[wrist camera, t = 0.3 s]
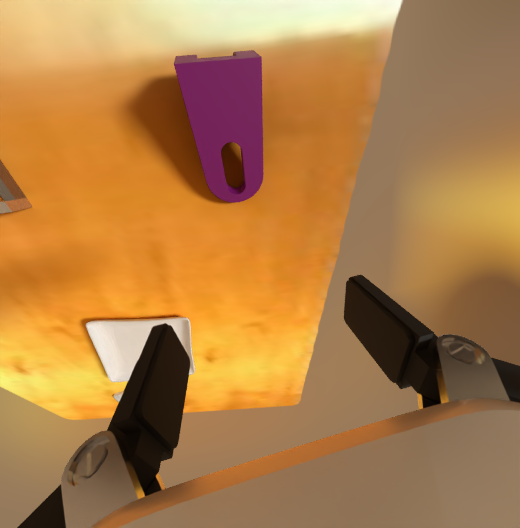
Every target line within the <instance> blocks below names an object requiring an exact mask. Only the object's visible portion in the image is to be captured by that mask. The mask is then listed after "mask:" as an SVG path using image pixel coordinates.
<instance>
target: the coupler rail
mask: <svg viewBox="0 0 520 528" xmlns="http://www.w3.org/2000/svg"><path fill="white" fill-rule="evenodd" d="M0 195H1V197H2V198H3V200H4V201H0V214H1V213H8V212H14V211H18V210H22V209H27V208H31V207H32V206H31V204H30V203H29V201H28V200H27V198H26V197H25V195H24V194H23V192H22V191H21V189H20V188H19V187H18V185H17V184H16V182H15V181H14V179H13V178H12V176H11V175H10V173H9V172H8V170H7V169H6V168H5V166H4V165H3V163H2V162H1V160H0Z"/></svg>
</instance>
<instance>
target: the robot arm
mask: <svg viewBox="0 0 520 528" xmlns="http://www.w3.org/2000/svg"><path fill="white" fill-rule="evenodd" d="M344 320H345V322H346V324H347V325H348V326H349V328H350V329H351V330H352V332H353V333H354V334H355V335H356V337H357V338H358V339H359V341H360V342H361V343H362V344H363V346H364V347H365V348H366V350H367V351H368V352H369V354H370V355H371V356H372V357H373V359H374V360H375V361H376V363H377V364H378V365H379V366H380V368H381V369H382V370H383V372H384V373H385V374H386V375H387V377H388V378H389V379H390V380H391V381H392V382H393V383H396V384H397V385H398V386H399V388H400V389H403V388H407V387H410V386H412V387H413V388H414V390H415V391H416V392H417V395H418V406H419V410H416V411H413V412H409V413H405V414H402V415H399V416H395V417H392V418H389V419H386V420H382V421H379V422H376V423H372V424H369V425H366V426H363V427H359V428H356V429H353V430H349V431H346V432H343V433H340V434H336V435H333V436H330V437H327V438H323V439H320V440H317V441H314V442H311V443H307V444H304V445H301V446H298V447H294V448H291V449H288V450H285V451H282V452H278V453H275V454H272V455H269V456H266V457H262V458H259V459H256V460H253V461H250V462H247V463H243V464H241V465H238V466H234V467H231V468H228V469H225V470H221V471H218V472H215V473H212V474H209V475H206V476H202V477H199V478H197V479H193V480H191V481H188V482H185V483H182V484H179V485H176V486H173V487H170V488H167V489H166V488H165V486H164V484H163V482H162V480H161V478H160V476H159V474H158V472H159V468H160V463H161V461H164V460H167V459H170V458H172V456H173V450H174V448H176V447H177V444H178V440H179V434H180V428H181V421H182V415H183V409H184V402H185V396H186V390H187V383H188V377H189V370H190V358H189V356H188V354H187V352H186V351H185V349H184V347H183V345H182V343H181V342H180V340H179V338H178V336H177V334H176V333H175V331H174V329H173V327H172V326H171V325H168V324H166V323H164V324H160V325H156V326H153V327H152V329H151V331H150V334H149V336H148V338H147V341H146V343H145V346H144V348H143V350H142V353H141V355H140V357H139V359H138V361H137V362H136V364H135V367H134V369H133V371H132V374H131V376H130V378H129V381H128V383H127V385H126V388H125V390H124V392H123V395H122V397H121V399H120V401H119V404H118V406H117V408H116V411H115V413H114V415H113V418H112V420H111V422H110V425H109V427H108V429H107V431H101V432H99V433H97V434H95V435H93V436H92V437H91V438H89V439H88V440H86V441H85V442H84V443H83V444H82V445H81V446H80V447H79V448H78V449H77V451H76V452H75V453H74V454H73V456H72V457H71V458H70V460H69V462H68V464H67V465H66V467H65V469H64V472H63V475H62V480H61V485H60V486H59V487H58V488H57V489H56V490H55V491H54V492H53V493H52V494H51V495H50V496H49V497H48V498H47V499H46V500H45V501H44V502H43V503H42V504H41V505H40V506H39V507H38V508H37V509H36V510H35V511H34V512H33V513H32V514H31V515H30V516H29V517H28V518H27V519H26V520H25V521H24V522H23V523H22V524H21V525H20V526H19V527H18V528H520V366H518V365H514V364H511V363H508V362H504V361H501V360H498V359H494V358H491V357H490V355H489V354H488V352H487V351H486V350H485V349H484V348H483V347H481V346H480V345H478V344H476V343H475V342H474V341H472V340H469V339H467V338H465V337H462V336H458V335H452V334H447V335H442V336H439V337H437V336H436V335H435V334H434V332H432V331H431V330H430V329H429V328H427V327H426V326H425V325H424V324H422V323H421V322H420V321H419V320H417V319H416V318H415V317H414V316H412V315H411V314H410V313H409V312H407V311H406V310H405V309H404V308H402V307H401V306H400V305H399V304H397V303H396V302H395V301H393V299H391V298H390V297H389V296H388V295H386V294H385V293H384V292H382V291H381V290H380V289H379V288H378V287H376V286H375V285H374V284H372V283H371V282H370V281H369V280H367V279H366V278H365V277H364V276H362V275H358V276H354V277H350V278H349V281H347V282H346V295H345V308H344Z"/></svg>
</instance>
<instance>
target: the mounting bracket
mask: <svg viewBox="0 0 520 528" xmlns="http://www.w3.org/2000/svg"><path fill="white" fill-rule="evenodd" d="M174 66H175V70H176V73H177V77H178V80H179V84H180V88H181V91H182V95H183V98H184V102H185V106H186V109H187V113H188V117H189V120H190V124H191V127H192V131H193V135H194V138H195V142H196V145H197V149H198V153H199V156H200V160H201V164H202V167H203V171H204V174H205V178H206V182H207V185H208V187H209V189H210V190H211V191H212V193H213V194H214V195H215V196H217V197H218V198H220V199H222V200H224V201H227V202H241V201H244V200H247V199H249V198H250V197H252V196H253V195H254V194H255V193H256V192H257V191H258V190H259V188H260V186H261V184H262V180H263V126H262V60H261V56H260V55H258V54H257V53H256V52H255V51H253V50H251V51H238V52H234V53H233V56H224V57H212V58H199V59H197V55H187V56H176V58H175V62H174ZM228 142H235V143H237V144H238V145H239V146H240V147H241V156H242V166H243V175H244V182H243V184H242V185H241V186H240V187H237V188H232V187H230V186H229V185H228V184H227V183H226V178H225V173H224V168H223V162H222V157H221V150H222V147H223V146H224V145H225V144H226V143H228Z"/></svg>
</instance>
